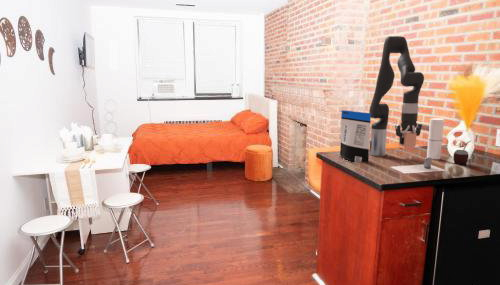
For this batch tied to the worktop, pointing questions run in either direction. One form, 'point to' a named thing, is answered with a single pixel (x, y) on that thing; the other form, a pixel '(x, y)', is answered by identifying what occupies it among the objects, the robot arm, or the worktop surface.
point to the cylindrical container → (435, 138)
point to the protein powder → (355, 136)
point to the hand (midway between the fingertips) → (407, 143)
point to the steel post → (427, 162)
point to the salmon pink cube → (409, 139)
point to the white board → (416, 169)
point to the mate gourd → (461, 156)
